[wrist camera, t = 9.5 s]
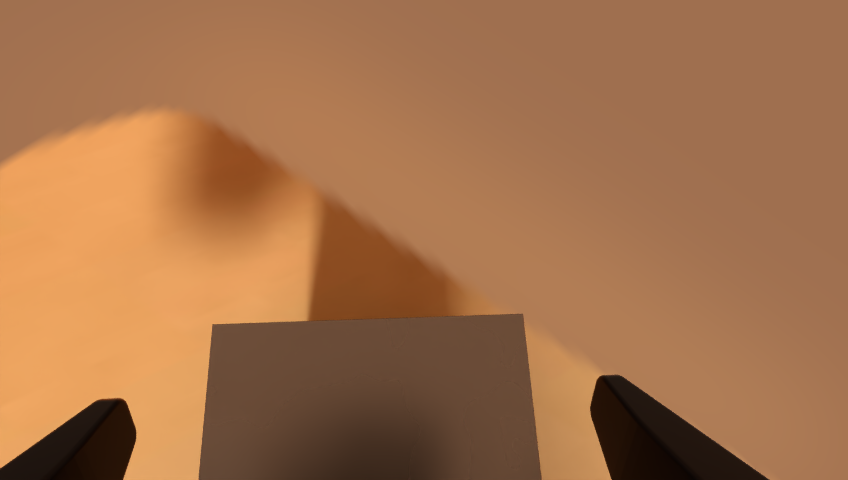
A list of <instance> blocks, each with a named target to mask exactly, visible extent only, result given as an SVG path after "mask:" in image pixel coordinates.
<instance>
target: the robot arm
mask: <svg viewBox="0 0 848 480" xmlns="http://www.w3.org/2000/svg"><path fill="white" fill-rule="evenodd" d="M590 411H591V417H592V421H593V424H594V427H595V430H596V433H597V436H598V439H599V442H600V445H601V448H602V451H603V455H604V458H605V461H606V464H607V467H608V470H609V473H610V476H611V479H612V480H769V479H767V478H766V477H765V476H763V475H762V474H760V473H759V472H758V471H756V470H755V469H753V468H752V467H750V466H749V465H748V464H746V463H745V462H743V461H742V460H740V459H739V458H738V457H736V456H735V455H733V454H732V453H731V452H729V451H728V450H726V449H725V448H723V447H722V446H721V445H719V444H718V443H716V442H715V441H713V440H712V439H711V438H709V437H708V436H706V435H705V434H703V433H702V432H701V431H699V430H698V429H696V428H695V427H694V426H692V425H691V424H689V423H688V422H686V421H685V420H684V419H682V418H681V417H679V416H678V415H676V414H675V413H674V412H672V411H671V410H669V409H668V408H667V407H665V406H664V405H662V404H661V403H659V402H658V401H657V400H655V399H654V398H652V397H651V396H649V395H648V394H647V393H645V392H644V391H642V390H641V389H639V388H638V387H637V386H635V385H634V384H632V383H631V382H630V381H628V380H627V379H625V378H624V377H622V376H620V375H602V376H600V377H599V378H598V379H597V381H596V385H595V389H594V393H593V397H592V401H591V406H590ZM135 442H136V428H135V425H134V422H133V419H132V417H131V414H130V411H129V408H128V405H127V403H126V401H125V400H124V399H121V398H113V399H100V400H97V401H95V402H94V403H92V404H91V405H89V406H88V407H87V408H85V409H84V410H82V411H81V412H79V413H78V414H77V415H75V416H74V417H72V418H71V419H70V420H68V421H67V422H65V423H64V424H63V425H61V426H60V427H58V428H57V429H56V430H54V431H53V432H51V433H50V434H48V435H47V436H46V437H44V438H43V439H41V440H40V441H39V442H37V443H36V444H34V445H33V446H32V447H30V448H29V449H27V450H26V451H24V452H23V453H22V454H20V455H19V456H17V457H16V458H15V459H13V460H12V461H10V462H9V463H8V464H6V465H5V466H3V467H2V468H0V480H123V478H124V475H125V472H126V469H127V466H128V463H129V460H130V457H131V454H132V451H133V448H134V445H135Z"/></svg>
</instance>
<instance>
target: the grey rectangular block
mask: <svg viewBox="0 0 848 480" xmlns="http://www.w3.org/2000/svg"><path fill="white" fill-rule="evenodd" d="M199 480H541V471H540V462H539V453H538V444H537V435H536V426H535V417H534V408H533V399H532V390H531V381H530V372H529V364H528V355H527V346H526V337H525V328H524V319H523V314H504V315H475V316H445V317H416V318H387V319H358V320H328V321H299V322H270V323H240V324H213V326H212V337H211V348H210V359H209V370H208V381H207V392H206V403H205V414H204V426H203V437H202V448H201V459H200V470H199Z"/></svg>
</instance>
